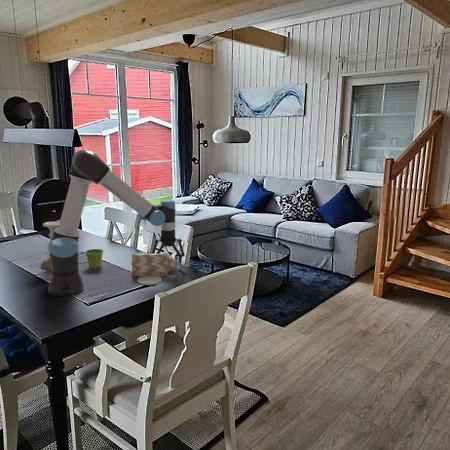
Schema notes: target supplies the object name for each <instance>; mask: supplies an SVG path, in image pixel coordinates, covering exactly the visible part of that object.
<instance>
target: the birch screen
mask: <svg viewBox="0 0 450 450" xmlns="http://www.w3.org/2000/svg"><path fill="white" fill-rule="evenodd" d="M168 255H169V254H168V253H160V254H156V253H154V254H152V253H132V254H131V277H142V276H149V275H152V276H158V277H161V276H168V272H169V271H167V266H168Z"/></svg>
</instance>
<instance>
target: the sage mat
mask: <svg viewBox="0 0 450 450" xmlns="http://www.w3.org/2000/svg"><path fill="white" fill-rule="evenodd" d="M136 281H137V283H138V284H140V285H143V286H153V285H158V284H160V283H162V281H163V280H162V277H161V276H152V275H149V276H139V277H138V278H137V279H136Z"/></svg>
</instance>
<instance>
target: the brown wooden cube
mask: <svg viewBox="0 0 450 450" xmlns="http://www.w3.org/2000/svg"><path fill="white" fill-rule="evenodd" d="M175 257H176V256H175V255H174V254H171V255H170V254H168V266H167V272H176V270H175V269H176V268H175V266H176V265H175V264H176V258H175Z"/></svg>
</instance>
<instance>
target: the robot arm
mask: <svg viewBox="0 0 450 450" xmlns="http://www.w3.org/2000/svg"><path fill="white" fill-rule="evenodd" d="M68 176H69V177H70V184H69V186H68V190H67V194H66V196H65V197H66V198H65V202H64V205H63V209H62V213H61V216H60V219H59V220H60V224H59V227H58V228H56V229H55V230H54V233H53V237H52V239H51V238H50V241H49V243H50V244H49V243H48V245H49V249H50V251H49V253H50V256H49V258H51V270H50V271H51V275H50V280H49V284H48V286H47V287H48V288H47V289H48V294H50V295H52V296H56V297H57V296H58V297H64V296H72V295H76V294H78V293H81V292H82V291H83V290H84V289H85V288H84V287H85V286H84V282H83V279H82V277H81V274H80V268H79V267H80V265H79V245H78V242H79V238H80V234H79V232H78V230H79V226H80V222H81V219H82V215H83V211H84V208H85V203H86V199H87V195H88V193H89V190H90V185H91V184H92V183H95V184H96V185H100V186H102V187H103V188H104V189H106V190H107V191H109V192H110V193H111V194H112V195H113V196H115V197H117V199H119V200H120V201H122V202H123V203H124V204H126V205H127V206H128V207H129V208H130V209H132V210H133V211H135V212H136V214H137V217H138V219H139V221H147V222H149V223H150V224H151V225H152V226H154V227H155V226H156V227H160V238H155V239H154V242H155V243H154V246H153V249H152V252H151V254H161V252H162V250H164V247H167V248H168V247H170V248H171V247H172V248H173V250H174V252H175V253H176V254H177V255H178V256H177V270H180V264H182V258H183V257H185V256H186V255H185V251H184V248H183V246H182V238H181V237H180V238H176V202H175V201H174V200H172V199H162V200H160V203H159V204H152V202H150V201H148V200H147V199H146V198H145V197H144V196H143V195H142V194H140V193H139V192H137V190H135V189H134V188H132V186H130V185H128V183H126V181H124V180H122V179H121V178H120V177H118V176H117V175H116V174H115V173H114V172H113V171H112V170H111V167H110V166H109V165H107V164H106V163H105V162H104V161H103V160H102V159H101V158H100V157H99V155H98V154H96V153H95V152H94V151H92V150H89V149H80V150H78V151H76V152H75V153H74V154H73V155H72V157H71V165H70V169H69V173H68ZM159 243H161V245H160V247H159V248H158V250H157V247H158V244H159ZM175 243H178V246H179V248H180V251H179V250H178V248H177V247H176V244H175ZM156 250H157V251H156ZM180 252H181V253H180Z"/></svg>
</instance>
